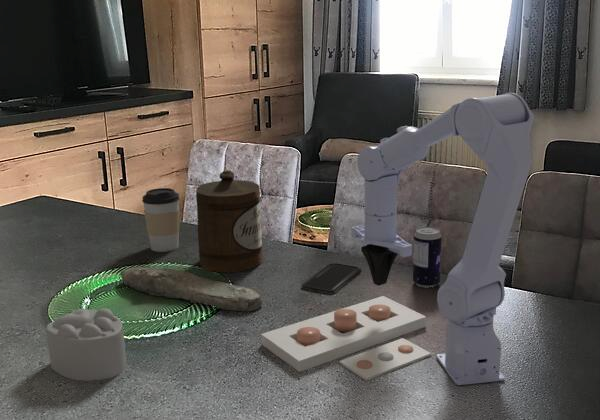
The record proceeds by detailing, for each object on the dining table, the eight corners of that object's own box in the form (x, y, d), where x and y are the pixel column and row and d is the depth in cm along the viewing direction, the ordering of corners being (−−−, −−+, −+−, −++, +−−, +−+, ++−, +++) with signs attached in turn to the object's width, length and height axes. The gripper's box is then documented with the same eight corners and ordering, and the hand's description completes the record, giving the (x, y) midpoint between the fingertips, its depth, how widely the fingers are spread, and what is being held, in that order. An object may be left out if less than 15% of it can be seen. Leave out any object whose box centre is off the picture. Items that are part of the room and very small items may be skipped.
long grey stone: (245, 326, 131) (271, 309, 140) (246, 301, 130) (272, 285, 138) (108, 287, 147) (140, 274, 155) (108, 264, 145) (139, 252, 154)
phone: (362, 267, 153) (333, 291, 141) (362, 272, 154) (333, 296, 141) (331, 262, 157) (299, 284, 144) (331, 267, 157) (299, 289, 145)
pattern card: (402, 340, 121) (402, 337, 120) (430, 355, 115) (430, 352, 115) (339, 363, 113) (339, 359, 113) (366, 380, 108) (366, 377, 107)
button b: (347, 319, 125) (347, 307, 124) (361, 327, 122) (361, 314, 121) (329, 325, 123) (329, 312, 122) (343, 333, 120) (343, 320, 119)
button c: (311, 337, 121) (311, 324, 120) (324, 346, 118) (324, 333, 117) (292, 344, 119) (292, 330, 118) (305, 352, 116) (305, 339, 115)
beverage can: (439, 290, 142) (441, 235, 138) (412, 288, 143) (413, 234, 140) (439, 279, 147) (441, 226, 144) (413, 278, 148) (414, 225, 145)
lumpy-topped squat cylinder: (93, 342, 123) (87, 298, 120) (142, 361, 115) (137, 314, 113) (42, 366, 115) (35, 319, 112) (92, 389, 107) (86, 339, 105)
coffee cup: (143, 245, 174) (137, 188, 170) (177, 239, 178) (173, 183, 174) (151, 255, 166) (146, 196, 162) (187, 249, 170) (183, 191, 166)
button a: (380, 314, 130) (380, 302, 129) (394, 322, 126) (395, 309, 126) (364, 320, 128) (364, 308, 127) (378, 327, 124) (378, 315, 124)
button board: (383, 305, 135) (383, 295, 135) (425, 326, 125) (426, 316, 125) (261, 344, 120) (261, 334, 120) (299, 372, 111) (299, 361, 110)
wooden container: (255, 274, 153) (251, 178, 147) (191, 271, 155) (185, 177, 149) (268, 252, 167) (265, 164, 161) (210, 250, 169) (204, 163, 163)
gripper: (338, 207, 125) (338, 276, 129) (390, 225, 113) (389, 301, 117) (367, 200, 129) (367, 268, 132) (421, 218, 117) (420, 291, 121)
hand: (380, 283), depth 125 cm, fingers closed
